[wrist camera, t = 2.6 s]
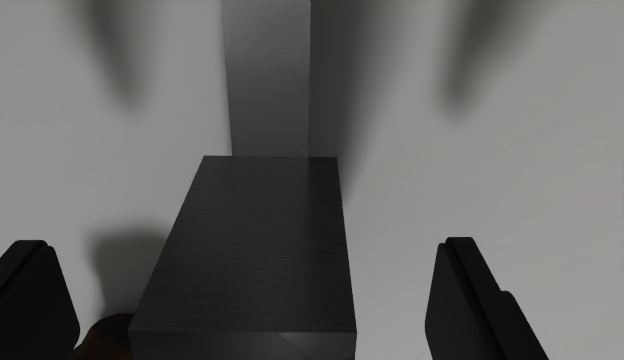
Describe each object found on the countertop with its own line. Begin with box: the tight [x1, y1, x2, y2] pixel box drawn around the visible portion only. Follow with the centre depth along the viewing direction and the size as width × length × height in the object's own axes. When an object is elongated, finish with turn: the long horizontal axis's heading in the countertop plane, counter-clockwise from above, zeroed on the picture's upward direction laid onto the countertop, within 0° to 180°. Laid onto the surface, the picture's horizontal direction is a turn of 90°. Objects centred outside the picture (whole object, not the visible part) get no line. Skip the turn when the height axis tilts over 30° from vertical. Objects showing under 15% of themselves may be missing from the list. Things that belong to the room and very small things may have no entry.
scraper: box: [127, 0, 357, 360], centre depth 12 cm, size 4×24×8 cm, turn 179°
